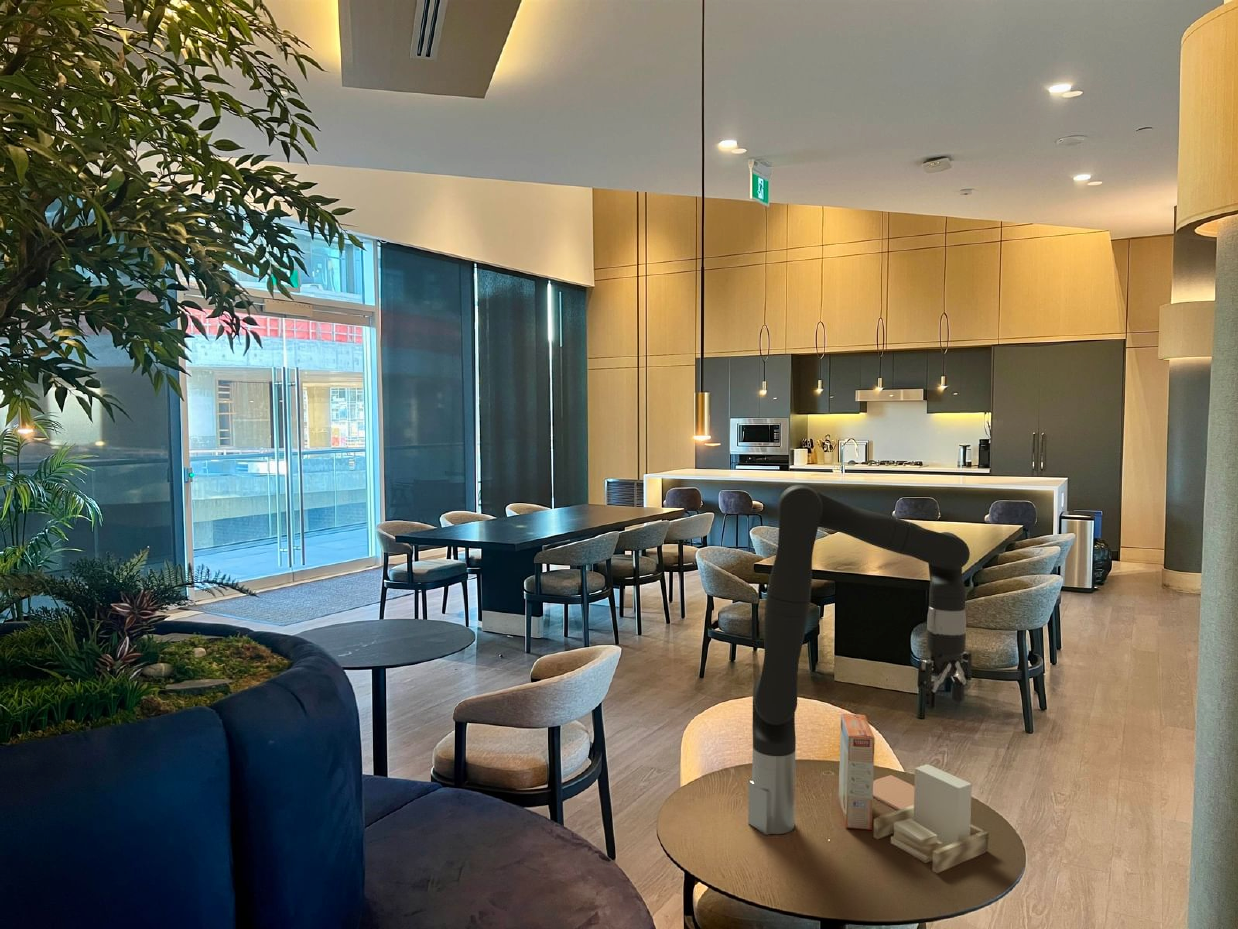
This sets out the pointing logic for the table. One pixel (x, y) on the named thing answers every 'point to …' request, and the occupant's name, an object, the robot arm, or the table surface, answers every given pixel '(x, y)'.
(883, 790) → the terracotta tile
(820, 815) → the table surface
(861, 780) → the cracker box
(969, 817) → the white block
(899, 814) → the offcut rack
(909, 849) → the offcut stack
